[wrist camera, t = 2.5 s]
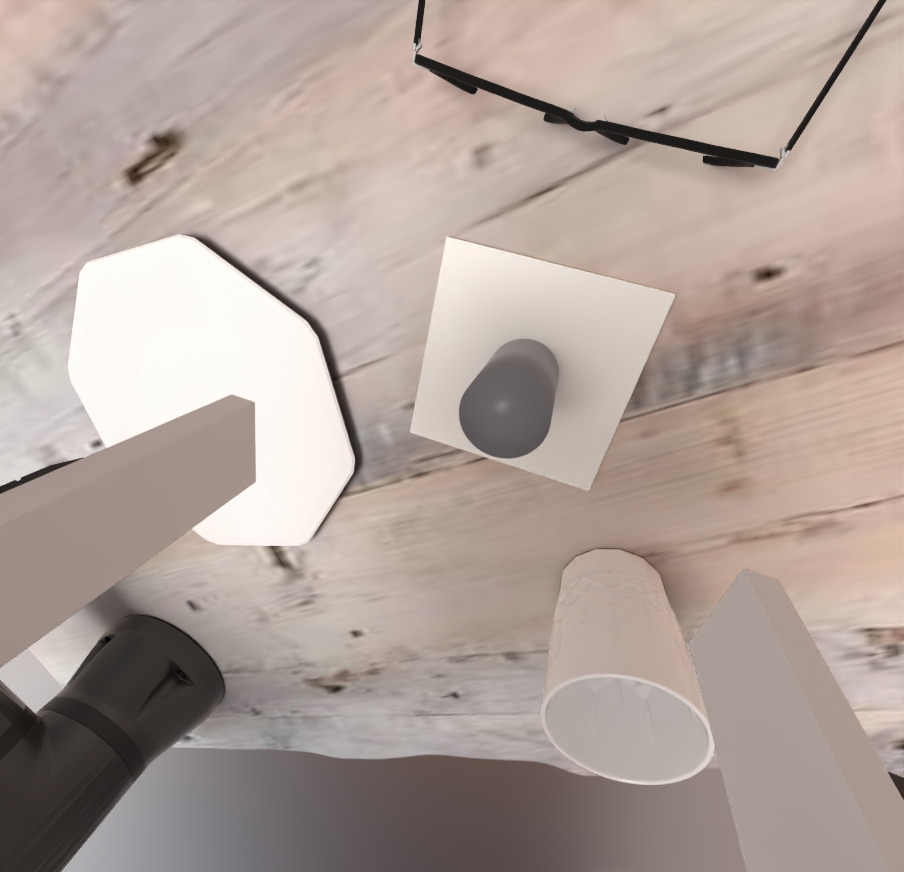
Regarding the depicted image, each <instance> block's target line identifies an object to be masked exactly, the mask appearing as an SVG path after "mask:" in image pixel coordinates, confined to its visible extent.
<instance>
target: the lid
mask: <svg viewBox="0 0 904 872" xmlns="http://www.w3.org/2000/svg"><path fill="white" fill-rule="evenodd" d="M675 295H676V294H675V293H672V292H668V291H664V290H660V289H656V288H652V287H648V286H644V285H640V284H636V283H632V282H628V281H624V280H620V279H616V278H612V277H608V276H604V275H600V274H596V273H592V272H588V271H584V270H580V269H576V268H572V267H568V266H564V265H560V264H556V263H552V262H548V261H544V260H540V259H536V258H532V257H528V256H524V255H520V254H516V253H512V252H508V251H504V250H500V249H496V248H492V247H488V246H484V245H480V244H476V243H472V242H468V241H464V240H460V239H456V238H452V237H446V242H445V247H444V252H443V258H442V263H441V268H440V274H439V279H438V284H437V290H436V295H435V300H434V306H433V311H432V316H431V321H430V327H429V332H428V337H427V343H426V348H425V353H424V359H423V364H422V369H421V375H420V380H419V385H418V390H417V396H416V401H415V406H414V412H413V417H412V422H411V428H410V433H413V434H416V435H419V436H422V437H425V438H428V439H431V440H434V441H437V442H440V443H443V444H446V445H449V446H452V447H455V448H459V449H462V450H465V451H468V452H471V453H474V454H477V455H480V456H483V457H486V458H489V459H492V460H495V461H498V462H501V463H504V464H507V465H510V466H513V467H516V468H519V469H522V470H526V471H529V472H532V473H535V474H538V475H541V476H544V477H547V478H550V479H553V480H556V481H559V482H562V483H565V484H568V485H571V486H574V487H577V488H580V489H583V490H586V491H589V490H590V488H591V485H592V483H593V481H594V479H595V476H596V474H597V472H598V469H599V467H600V465H601V463H602V460H603V458H604V456H605V454H606V451H607V449H608V447H609V445H610V442H611V440H612V438H613V436H614V433H615V431H616V429H617V427H618V424H619V422H620V420H621V417H622V415H623V413H624V411H625V408H626V406H627V404H628V402H629V399H630V397H631V395H632V393H633V390H634V388H635V386H636V384H637V381H638V379H639V377H640V374H641V372H642V370H643V368H644V365H645V363H646V361H647V359H648V356H649V354H650V352H651V350H652V347H653V345H654V343H655V341H656V338H657V336H658V334H659V332H660V329H661V327H662V325H663V322H664V320H665V318H666V316H667V313H668V311H669V309H670V307H671V304H672V302H673V300H674V298H675Z"/></svg>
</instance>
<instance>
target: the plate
mask: <svg viewBox="0 0 904 872" xmlns="http://www.w3.org/2000/svg"><path fill="white" fill-rule="evenodd" d="M68 372H69V376H70V380H71V382H72V384H73V386H74V388H75V390H76V392H77V394H78V396H79V397H80V399H81V401H82V403H83V405H84V407H85V409H86V411H87V413H88V414H89V416H90V418H91V420H92V422H93V424H94V426H95V428H96V429H97V431H98V433H99V435H100V437H101V439H102V441H103V443H104V444H105V446H106V448H108V447H110V446H113V445H115V444H117V443H120V442H122V441H124V440H127V439H129V438H131V437H134V436H136V435H138V434H141V433H143V432H145V431H147V430H150V429H152V428H154V427H157V426H159V425H161V424H164V423H166V422H168V421H171V420H173V419H175V418H178V417H180V416H182V415H185V414H187V413H189V412H192V411H194V410H196V409H199V408H201V407H203V406H205V405H208V404H210V403H212V402H215V401H217V400H219V399H222V398H224V397H226V396H229V395H231V394H233V395H235V396H238V397H241V398H244V399H247V400H250V401H253V402H255V445H256V482H255V483H254V484H252V485H251V486H250V487H248V488H247V489H245V490H244V491H243V492H241V493H240V494H239V495H237V496H236V497H234V498H233V499H232V500H230V501H229V502H228V503H226V504H225V505H223V506H222V507H221V508H219V509H218V510H217V511H215V512H214V513H212V514H211V515H210V516H208V517H207V518H206V519H204V520H203V521H201V522H200V523H199V524H197V525H196V526H195V527H193V528H192V530H194V531H195V532H196V533H198V534H199V535H200V536H202V537H203V538H205V539H206V540H207V541H210V542H213V543H215V544H218V545H255V546H301V545H304V544H306V543H308V542H309V541H310V540H311V538H312V537H313V535H314V534H315V532H316V531H317V529H318V528H319V526H320V524H321V523H322V521H323V520H324V518H325V517H326V515H327V514H328V512H329V511H330V509H331V507H332V506H333V504H334V503H335V501H336V500H337V498H338V497H339V495H340V493H341V492H342V490H343V489H344V487H345V486H346V484H347V483H348V481H349V479H350V478H351V476H352V475H353V473H354V472H355V465H356V455H355V452H354V449H353V445H352V442H351V439H350V435H349V432H348V429H347V425H346V422H345V419H344V416H343V412H342V409H341V406H340V402H339V399H338V396H337V392H336V389H335V386H334V382H333V379H332V376H331V372H330V369H329V366H328V363H327V359H326V356H325V353H324V349H323V346H322V343H321V339H320V336H319V335H318V333H317V332H316V331H315V329H314V328H313V326H312V325H311V323H310V322H309V321H308V320H307V319H305V318H304V317H303V316H301V315H300V314H299V313H297V312H296V311H295V310H293V309H292V308H291V307H289V306H288V305H287V304H285V303H284V302H283V301H281V300H280V299H279V298H277V297H276V296H275V295H273V294H272V293H271V292H269V291H268V290H266V289H265V288H264V287H262V286H261V285H260V284H258V283H257V282H256V281H254V280H253V279H252V278H250V277H249V276H248V275H246V274H245V273H244V272H242V271H241V270H240V269H238V268H237V267H236V266H234V265H233V264H231V263H230V262H229V261H227V260H226V259H225V258H223V257H222V256H221V255H219V254H218V253H217V252H215V251H214V250H213V249H211V248H210V247H209V246H207V245H206V244H205V243H203V242H202V241H201V240H199V239H198V238H195V237H191V236H187V235H183V234H178V235H174V236H171V237H168V238H164V239H161V240H158V241H155V242H151V243H148V244H145V245H141V246H138V247H135V248H131V249H128V250H125V251H122V252H118V253H115V254H112V255H108V256H105V257H102V258H99V259H95V260H92V261H89V262H87V263H86V264H85V266H84V267H83V268H82V270H81V271H80V275H79V282H78V290H77V298H76V306H75V314H74V321H73V329H72V337H71V345H70V353H69V360H68Z"/></svg>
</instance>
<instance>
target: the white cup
mask: <svg viewBox="0 0 904 872" xmlns="http://www.w3.org/2000/svg"><path fill="white" fill-rule="evenodd" d="M540 717H541V723H542V726H543V729H544V731H545V733H546V735H547V737H548V738H549V740H550V741H551V742H552V744H553V745H554V746H555V747H556V748H557V749H558V750H559V751H560V752H561V753H562V754H563V755H564V756H566V757H567V758H568V759H570V760H571V761H573V762H574V763H576V764H577V765H579V766H581V767H582V768H584V769H586V770H588V771H590V772H593V773H595V774H597V775H600V776H603V777H606V778H609V779H612V780H616V781H620V782H625V783H632V784H640V785H660V784H669V783H674V782H678V781H682V780H684V779H687V778H690V777H692V776H694V775H695V774H697V773H698V772H700V771H701V770H703V769H704V768H705V767H706V766H707V765H708V763H709V762H710V760H711V759H712V757H713V754H714V751H715V745H714V741H713V737H712V733H711V729H710V725H709V721H708V717H707V713H706V709H705V705H704V701H703V698H702V695H701V692H700V688H699V685H698V682H697V679H696V676H695V673H694V670H693V667H692V664H691V661H690V658H689V655H688V651H687V648H686V645H685V642H684V639H683V635H682V632H681V630H680V627H679V625H678V622H677V619H676V616H675V613H674V611H673V610H672V608H671V606H670V604H669V601H668V599H667V595H666V592H665V589H664V586H663V583H662V580H661V577H660V574H659V573H658V572H657V571H656V570H655V569H654V568H653V567H652V566H651V565H650V564H649V563H648V562H647V561H645V560H644V559H643V558H642V557H639V556H636V555H634V554H631V553H628V552H626V551H623V550H620V549H595V550H592V551H589V552H587V553H584V554H581V555H579V556H576V557H575V558H574V559H573V560H572V561H571V562H570V563H569V564H568V565H567V566H566V568H565V569H564V570H563V573H562V579H561V584H560V591H559V598H558V602H557V604H556V606H555V614H554V619H553V623H552V631H551V638H550V646H549V653H548V660H547V668H546V675H545V682H544V690H543V697H542V704H541V711H540Z"/></svg>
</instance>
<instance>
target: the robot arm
mask: <svg viewBox="0 0 904 872" xmlns="http://www.w3.org/2000/svg"><path fill="white" fill-rule="evenodd" d="M255 482H256V445H255V402H253V401H250V400H247V399H244V398H241V397H238V396H235V395H233V394H231V395H229V396H226V397H224V398H222V399H219V400H217V401H215V402H212V403H210V404H208V405H205V406H203V407H201V408H199V409H196V410H194V411H192V412H189V413H187V414H185V415H182V416H180V417H178V418H175V419H173V420H171V421H168V422H166V423H164V424H161V425H159V426H157V427H154V428H152V429H150V430H147V431H145V432H143V433H141V434H138V435H136V436H134V437H131V438H129V439H127V440H124V441H122V442H120V443H117V444H115V445H113V446H110V447H108V448H106V449H103V450H101V451H99V452H96V453H94V454H92V455H89V456H87V457H85V458H80V459H75V460H71V461H67V462H63V463H59V464H54V465H50V466H48V467H46V468H43V469H41V470H38V471H36V472H34V473H31V474H29V475H26V476H24V477H22V478H21V480H20V481H16V480H14V481H12V482H10V483H7V484H5V485H2V486H0V668H1V667H2V666H3V665H5V664H6V663H8V662H9V661H10V660H12V659H13V658H14V657H16V656H17V655H19V654H20V653H21V652H23V651H24V650H25V649H27V648H28V647H30V646H31V645H32V644H34V643H35V642H37V641H38V640H39V639H41V638H42V637H43V636H45V635H46V634H48V633H49V632H50V631H52V630H53V629H54V628H56V627H57V626H59V625H60V624H61V623H63V622H64V621H65V620H67V619H68V618H69V617H71V616H72V615H74V614H75V613H76V612H78V611H79V610H80V609H82V608H83V607H85V606H86V605H87V604H89V603H90V602H91V601H93V600H94V599H96V598H97V597H98V596H100V595H101V594H102V593H104V592H105V591H107V590H108V589H109V588H111V587H112V586H113V585H115V584H116V583H118V582H119V581H120V580H122V579H123V578H124V577H126V576H127V575H129V574H130V573H131V572H133V571H134V570H135V569H137V568H138V567H140V566H141V565H142V564H144V563H145V562H146V561H148V560H149V559H151V558H152V557H153V556H155V555H156V554H157V553H159V552H160V551H162V550H163V549H164V548H166V547H167V546H168V545H170V544H171V543H173V542H174V541H175V540H177V539H178V538H179V537H181V536H182V535H184V534H185V533H186V532H188V531H189V530H190V529H192V528H193V527H195V526H196V525H197V524H199V523H200V522H201V521H203V520H204V519H206V518H207V517H208V516H210V515H211V514H212V513H214V512H215V511H217V510H218V509H219V508H221V507H222V506H223V505H225V504H226V503H228V502H229V501H230V500H232V499H233V498H234V497H236V496H237V495H239V494H240V493H241V492H243V491H244V490H245V489H247V488H248V487H250V486H251V485H252V484H254V483H255ZM689 646H690V650H691V654H692V658H693V662H694V666H695V670H696V674H697V678H698V682H699V686H700V689H701V693H702V697H703V701H704V705H705V709H706V713H707V717H708V721H709V725H710V729H711V733H712V737H713V741H714V745H715V748H716V752H717V756H718V760H719V764H720V768H721V772H722V776H723V780H724V784H725V788H726V792H727V795H728V800H729V803H730V807H731V811H732V815H733V819H734V823H735V827H736V831H737V835H738V839H739V843H740V847H741V851H742V855H743V858H744V863H745V867H746V870H747V872H904V778H903V777H900V776H898V775H895V774H893V773H890V772H887V770H886V768H885V767H884V765H883V763H882V761H881V759H880V758H879V756H878V754H877V752H876V751H875V749H874V747H873V745H872V744H871V742H870V740H869V738H868V737H867V735H866V733H865V731H864V730H863V728H862V726H861V724H860V722H859V721H858V719H857V717H856V715H855V714H854V712H853V710H852V708H851V707H850V705H849V703H848V701H847V700H846V698H845V696H844V694H843V692H842V691H841V689H840V687H839V685H838V684H837V682H836V680H835V678H834V677H833V675H832V673H831V671H830V670H829V668H828V666H827V664H826V663H825V661H824V659H823V657H822V655H821V654H820V652H819V650H818V648H817V647H816V645H815V643H814V641H813V640H812V638H811V636H810V634H809V633H808V631H807V629H806V627H805V625H804V624H803V622H802V620H801V618H800V617H799V615H798V613H797V611H796V610H795V608H794V606H793V604H792V603H791V601H790V599H789V597H788V596H787V594H786V592H785V590H784V588H783V587H782V585H781V583H780V581H779V580H777V579H775V578H772V577H769V576H766V575H763V574H760V573H757V572H754V571H751V570H748V569H745V568H743V570H742V571H741V572H740V574H739V575H738V577H737V578H736V579H735V581H734V582H733V583H732V585H731V586H730V588H729V589H728V590H727V592H726V593H725V594H724V596H723V597H722V599H721V600H720V601H719V603H718V604H717V605H716V607H715V608H714V610H713V611H712V612H711V614H710V615H709V616H708V618H707V619H706V621H705V622H704V623H703V625H702V626H701V627H700V629H699V630H698V632H697V633H696V634H695V636H694V637H693V638H692V640H691V641H690V643H689ZM223 695H224V686H223V682H222V679H221V676H220V674H219V672H218V670H217V668H216V667H215V665H214V664H213V662H212V661H211V660H210V658H209V657H208V656H207V655H206V653H205V652H204V651H203V650H202V649H201V648H200V647H199V646H198V645H197V644H196V643H195V642H193V641H192V640H191V639H190V638H189V637H187V636H186V635H185V634H183V633H182V632H180V631H179V630H177V629H176V628H174V627H172V626H170V625H168V624H167V623H164V622H162V621H160V620H157V619H155V618H151V617H147V616H142V615H131V616H127V617H125V618H123V619H121V620H120V621H119V622H118V623H117V624H115V625H114V626H113V627H112V628H111V629H109V630H108V631H107V632H106V633H105V634H104V635H103V636H102V637H101V638H100V639H99V641H98V643H97V644H96V645H95V646H94V648H93V649H92V650H91V652H90V653H89V655H88V656H87V657H86V659H85V660H84V661H83V663H82V664H81V665H80V667H79V668H78V670H77V671H76V672H75V674H74V675H73V676H72V678H71V679H70V681H69V682H68V683H67V685H66V686H65V687H64V689H63V690H62V691H61V692H60V693H59V694H58V695H57V696H55V697H54V698H53V699H52V700H51V701H50V702H48V703H47V704H46V705H45V706H44V707H43V708H42V709H40V710H39V711H38V712H37V713H36V714H35V713H34V712H33V711H32V710H31V709H29V707H27V705H26V704H25V703H24V702H23V701H22V700H21V699H20V698H19V697H17V696H16V695H15V694H14V693H13V692H12V691H11V690H10V689H9V688H8V687H7V686H6V685H5V684H4V683H3V682H2V681H1V680H0V872H61V871H62V870H63V869H64V867H65V866H66V865H67V864H68V863H69V861H70V860H71V859H72V857H73V856H74V855H75V854H76V853H77V852H78V850H79V849H80V848H81V847H82V845H83V844H84V843H85V842H86V840H87V839H88V838H89V837H90V836H91V835H92V833H93V832H94V831H95V830H96V828H97V827H98V826H99V825H100V824H101V822H102V821H103V820H104V819H105V817H106V816H107V815H108V814H109V813H110V811H111V810H112V809H113V808H114V806H115V805H116V804H117V803H118V802H119V800H120V799H121V798H122V797H123V795H124V794H125V793H126V792H127V791H128V789H129V788H130V787H131V786H132V784H133V783H134V782H135V781H136V780H137V778H138V777H139V776H140V775H141V774H142V772H143V771H144V770H145V768H147V767H148V765H149V764H150V763H151V762H152V761H153V760H154V759H155V758H157V757H158V756H159V755H161V754H162V753H163V752H165V751H166V750H167V749H168V748H170V747H171V746H173V745H174V744H175V743H176V742H178V741H179V740H180V739H182V738H183V737H184V736H186V735H187V734H188V733H189V732H191V731H192V730H193V729H195V728H196V727H197V726H199V725H200V724H201V723H202V722H204V721H205V720H206V719H207V718H208V717H209V715H210V714H211V713H212V712H213V710H214V709H215V708H216V707H217V705H218V704H219V703H220V702H221V700H222V698H223Z"/></svg>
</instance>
